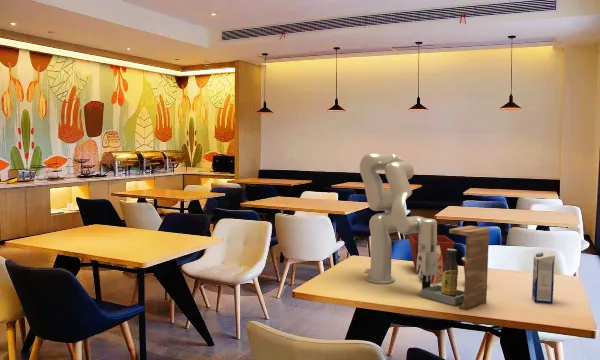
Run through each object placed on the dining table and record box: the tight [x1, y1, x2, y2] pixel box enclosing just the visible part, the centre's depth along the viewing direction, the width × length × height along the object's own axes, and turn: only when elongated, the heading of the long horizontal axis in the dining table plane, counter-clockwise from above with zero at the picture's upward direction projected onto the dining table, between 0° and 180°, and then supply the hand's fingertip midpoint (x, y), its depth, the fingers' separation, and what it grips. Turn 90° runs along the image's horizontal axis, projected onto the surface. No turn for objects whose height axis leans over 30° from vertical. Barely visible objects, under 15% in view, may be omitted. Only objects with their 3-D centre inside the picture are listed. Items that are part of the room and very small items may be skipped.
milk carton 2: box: [531, 252, 556, 305], centre depth 213 cm, size 7×7×20 cm
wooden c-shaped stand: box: [448, 225, 490, 311], centre depth 207 cm, size 9×15×30 cm, turn 132°
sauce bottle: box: [440, 248, 459, 297], centre depth 214 cm, size 7×6×20 cm
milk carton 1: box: [419, 243, 443, 286], centre depth 242 cm, size 9×9×20 cm
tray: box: [420, 284, 464, 307], centre depth 215 cm, size 16×12×3 cm
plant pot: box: [408, 234, 455, 269], centre depth 262 cm, size 19×19×17 cm
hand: (426, 290), depth 222 cm, fingers closed
